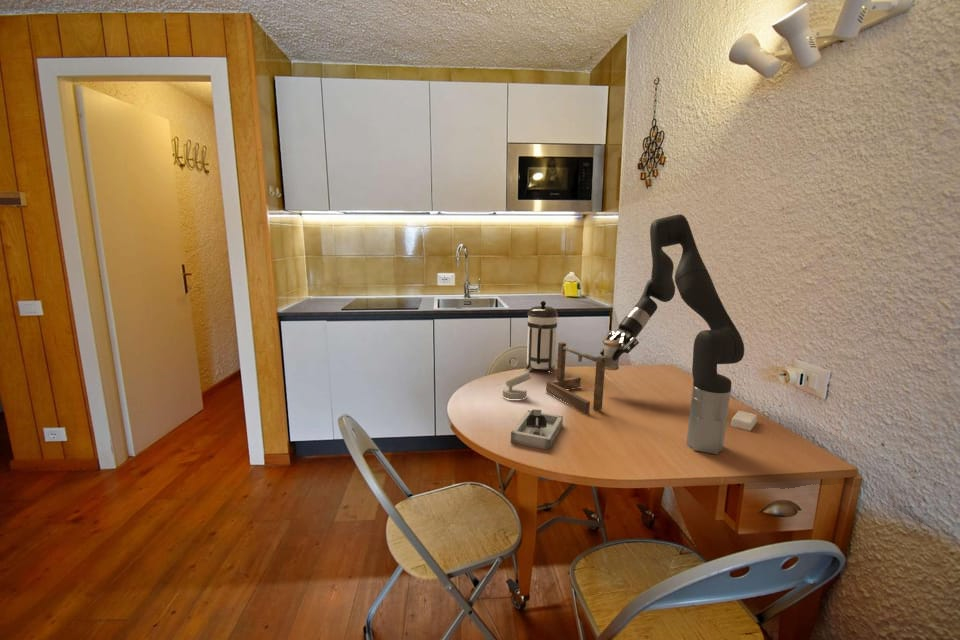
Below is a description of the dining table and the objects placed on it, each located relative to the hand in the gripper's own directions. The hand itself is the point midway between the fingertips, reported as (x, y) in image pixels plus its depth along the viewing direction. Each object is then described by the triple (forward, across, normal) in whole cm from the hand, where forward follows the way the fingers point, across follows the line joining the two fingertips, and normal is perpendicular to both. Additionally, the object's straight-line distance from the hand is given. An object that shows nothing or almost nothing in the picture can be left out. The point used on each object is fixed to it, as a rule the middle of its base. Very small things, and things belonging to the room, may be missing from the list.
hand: (607, 356), depth 159 cm
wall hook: (+32, +12, +12) cm, 36 cm away
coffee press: (+14, +34, -7) cm, 37 cm away
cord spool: (+2, 0, -4) cm, 5 cm away
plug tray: (+39, -17, +19) cm, 47 cm away
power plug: (+38, -15, +19) cm, 45 cm away
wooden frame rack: (+18, -1, -2) cm, 18 cm away
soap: (-5, -39, -26) cm, 47 cm away
